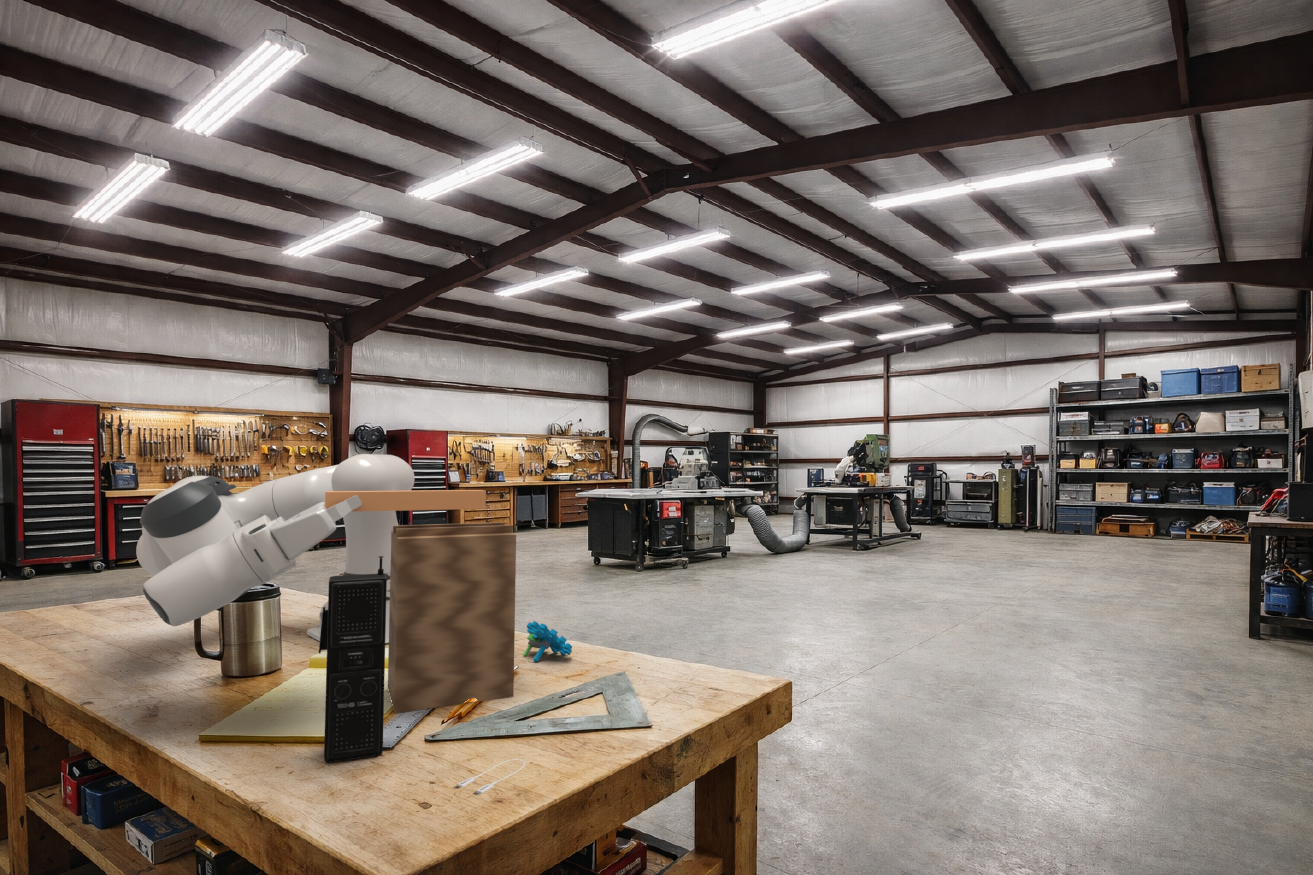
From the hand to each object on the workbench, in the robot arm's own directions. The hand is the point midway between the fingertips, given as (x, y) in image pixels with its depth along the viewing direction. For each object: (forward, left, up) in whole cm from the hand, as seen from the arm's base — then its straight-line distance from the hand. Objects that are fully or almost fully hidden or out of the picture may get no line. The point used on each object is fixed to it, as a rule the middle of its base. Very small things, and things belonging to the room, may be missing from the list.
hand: (359, 498), depth 107 cm
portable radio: (+15, -10, -32) cm, 37 cm away
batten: (+4, +6, -2) cm, 7 cm away
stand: (+7, +12, -32) cm, 35 cm away
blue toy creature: (+6, +37, -32) cm, 49 cm away
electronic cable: (+35, -4, -32) cm, 48 cm away
